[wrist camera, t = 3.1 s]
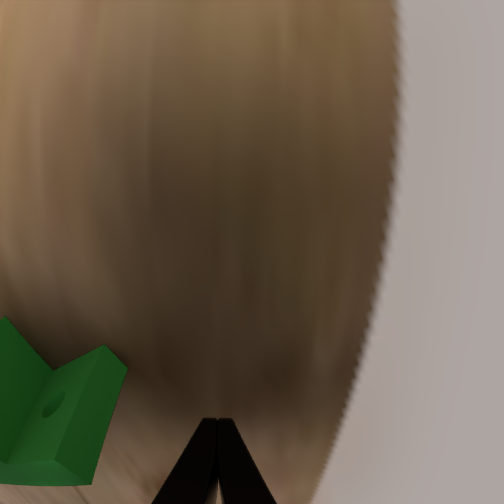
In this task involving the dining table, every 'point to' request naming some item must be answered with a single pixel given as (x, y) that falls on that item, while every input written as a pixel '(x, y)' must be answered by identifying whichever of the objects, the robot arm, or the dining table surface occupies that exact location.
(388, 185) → the dining table surface
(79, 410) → the pipe clamp
